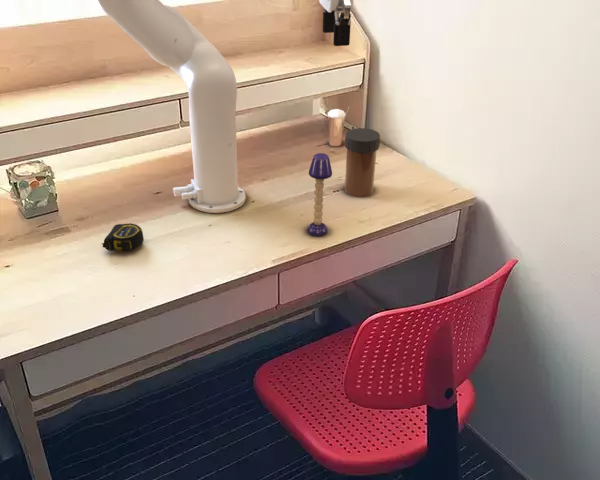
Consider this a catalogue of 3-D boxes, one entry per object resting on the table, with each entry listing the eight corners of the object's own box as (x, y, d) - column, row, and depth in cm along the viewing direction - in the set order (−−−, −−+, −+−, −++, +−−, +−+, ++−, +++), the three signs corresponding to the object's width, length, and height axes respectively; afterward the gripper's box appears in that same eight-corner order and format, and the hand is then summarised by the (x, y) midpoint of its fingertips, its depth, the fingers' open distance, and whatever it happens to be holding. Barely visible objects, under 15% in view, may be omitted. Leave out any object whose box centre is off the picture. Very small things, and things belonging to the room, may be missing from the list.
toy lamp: (305, 225, 143) (307, 151, 133) (327, 224, 144) (330, 150, 134) (308, 237, 139) (311, 161, 129) (331, 235, 140) (335, 160, 130)
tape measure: (117, 236, 138) (114, 220, 136) (149, 239, 137) (147, 223, 135) (103, 253, 132) (100, 237, 130) (137, 257, 132) (134, 240, 129)
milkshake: (347, 147, 176) (349, 110, 170) (326, 147, 176) (328, 109, 170) (346, 140, 180) (348, 103, 174) (326, 140, 180) (328, 103, 174)
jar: (351, 198, 153) (355, 144, 146) (339, 186, 158) (342, 133, 151) (377, 194, 155) (383, 140, 148) (365, 182, 160) (369, 129, 153)
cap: (353, 155, 146) (354, 143, 145) (339, 142, 152) (340, 130, 150) (385, 151, 149) (386, 138, 147) (369, 138, 154) (370, 126, 153)
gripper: (310, -62, 135) (309, 28, 145) (330, -47, 121) (327, 51, 131) (347, -63, 136) (343, 26, 146) (370, -48, 122) (364, 50, 133)
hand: (335, 38), depth 139 cm, fingers open, 9 cm apart
